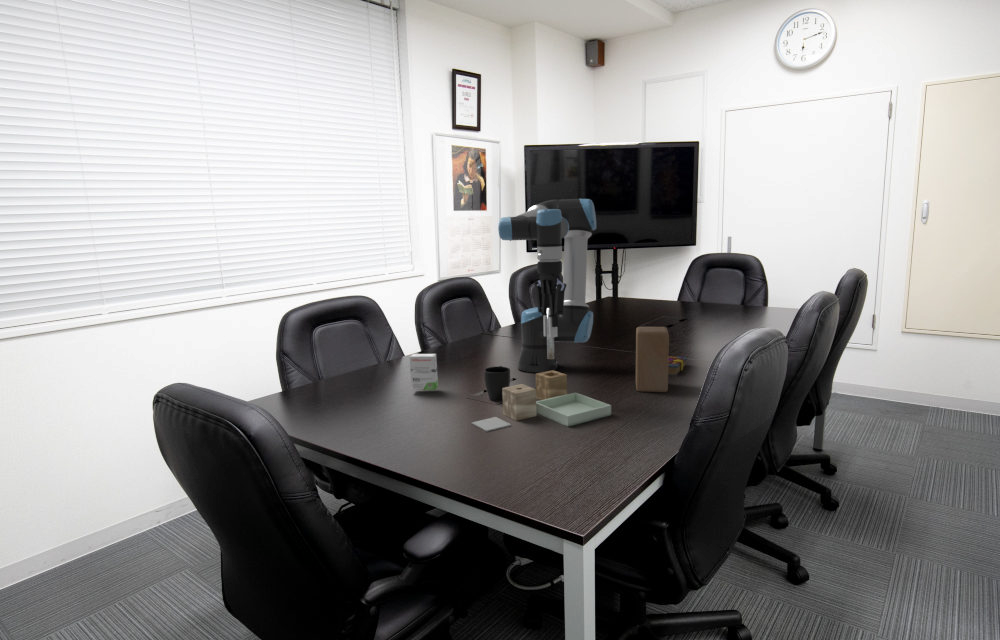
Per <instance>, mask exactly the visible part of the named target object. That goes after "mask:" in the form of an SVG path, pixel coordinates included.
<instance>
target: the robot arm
mask: <svg viewBox="0 0 1000 640" xmlns="http://www.w3.org/2000/svg"><path fill="white" fill-rule="evenodd" d="M596 216H597V215H596V210H595V204H594V202H593V200H592V199H590V198H571V199H569V198H567V199H566V198H565V199H550V200H549V199H548V200H546V201H542V202H540V203H536V204H535V205H532V206H531V207H529V208H528V210H527V211H526V212H524V213H520V214H518V215H516V216H506V217H504V216H503V217H501V218H500V219H499V221H498V228H497V229H498V236H499V238H500V239H501V240H502V241H510V242H511V241H532V240H533V241H536V246H537V249H536V250H537V251H536V252H537V253H536V254H537V255H536V256H537V258H536V259H537V264H536V266H537V267H536V268H537V269H536V271H537V274H538V275H539V280H536V281H535V280H534V287H535V292H536V304H537V307H532V308H531V307H530V308H528V309H527V308H526V309H525V310H523V311H522V313H521V315H520V317H521V319H520V324H521V325H520V330H521V331H520V332H521V351H520V353H519V358H518V361H517V369H518V370H519V369H520V370H519V371H521V370H523V371H522V372H525V371H526V373H542V372H547V371H552V370H554V371H556V369H558V360H557V357H556V354H555V353H554V359H547V308H548V307H550V314H551V315H549V338H553V337H554V343H574V344H578V343H587V342H588V341H589V339H590V338H591V334H592V330H593V326H594V325H593V324H594V312H593V311H591V310H590V306H589V305H588V304H587V302H586V297H587V295H586V291H587V268H588V267H587V261H588V260H587V259H588V241H589V240H588V239H590V237H592V235H593V233H592V232H593V231H595V230H597V217H596ZM562 239H564V246H563V245H562V243H563V241H562ZM562 259H563V262H562V261H561V260H562ZM560 274H562V275H563V276H562V281H561V276H560Z"/></svg>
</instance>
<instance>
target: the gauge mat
mask: <svg viewBox="0 0 1000 640" xmlns="http://www.w3.org/2000/svg"><path fill="white" fill-rule="evenodd" d="M471 425H473V426H475V427H477V428H478V429H480V430H483V431H484V432H487V433H488V432H492V431H496V430H499V429H504V428H507V427H511V426H512V424H511V423H509V422H507V421H505V420H503V419H501V418H499V417H497V416H492V417H490V418H489V417H488V418H485V419H481V420H476V421H473V422H471Z"/></svg>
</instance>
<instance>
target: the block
mask: <svg viewBox="0 0 1000 640" xmlns="http://www.w3.org/2000/svg"><path fill="white" fill-rule="evenodd" d="M635 330H636V331H635V389H636V391H637V392H647V393H648V392H649V393H651V392H653V393H666V392H668V391H669V375H668V362H669V356H670V355H669V351H670V350H669V349H670V347H669V346H670V334H669V331H668V328H667V327H665V326H638V327H636V329H635Z"/></svg>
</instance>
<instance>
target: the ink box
mask: <svg viewBox="0 0 1000 640" xmlns="http://www.w3.org/2000/svg"><path fill="white" fill-rule="evenodd" d="M437 363H438V362H437V353H412V354H411V355H410V356H409V367H410V368H409V370H410V384H411V385H410V386H411V390H412V391H436V390H437V389H438V387H439V377H438V364H437Z"/></svg>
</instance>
